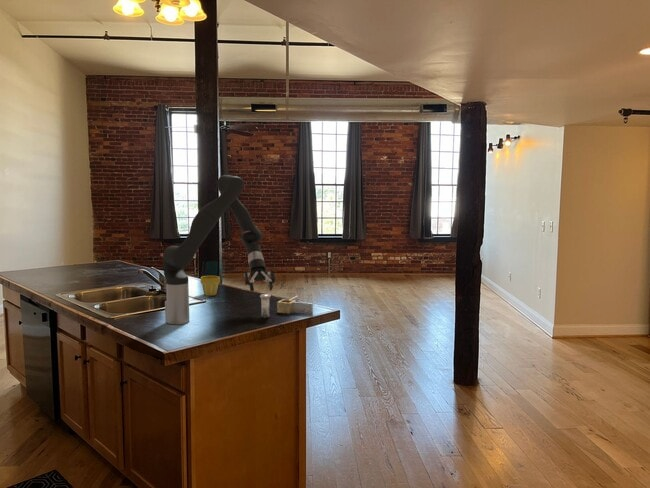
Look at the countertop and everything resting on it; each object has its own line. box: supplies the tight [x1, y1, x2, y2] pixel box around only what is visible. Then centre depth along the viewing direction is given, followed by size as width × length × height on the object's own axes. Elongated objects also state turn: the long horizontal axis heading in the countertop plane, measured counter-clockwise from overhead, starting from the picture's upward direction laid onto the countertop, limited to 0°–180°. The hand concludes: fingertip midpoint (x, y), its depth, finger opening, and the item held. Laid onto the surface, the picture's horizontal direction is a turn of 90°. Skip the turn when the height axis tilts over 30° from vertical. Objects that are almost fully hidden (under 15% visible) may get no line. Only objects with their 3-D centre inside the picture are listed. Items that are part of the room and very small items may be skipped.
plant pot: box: [200, 275, 221, 296], centre depth 269 cm, size 10×10×10 cm
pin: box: [259, 293, 272, 319], centre depth 221 cm, size 5×5×10 cm
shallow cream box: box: [276, 295, 314, 315], centre depth 233 cm, size 17×17×5 cm
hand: (261, 290), depth 226 cm, fingers open, 8 cm apart
